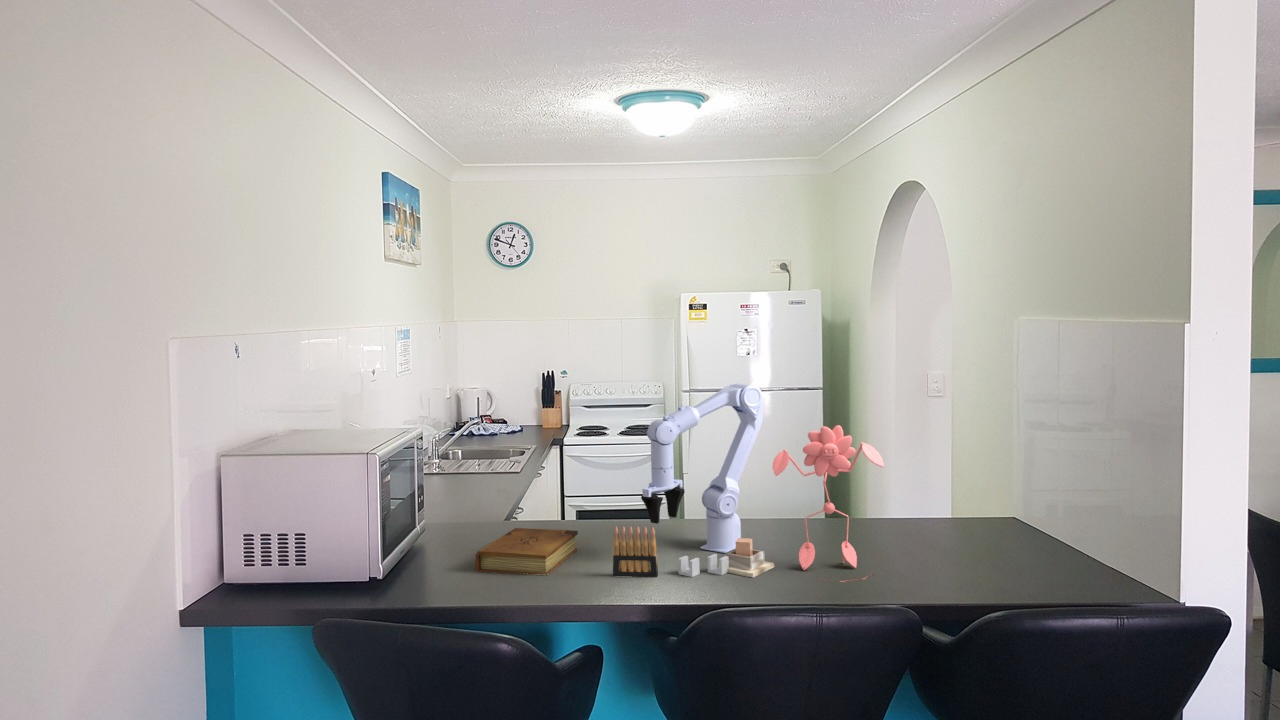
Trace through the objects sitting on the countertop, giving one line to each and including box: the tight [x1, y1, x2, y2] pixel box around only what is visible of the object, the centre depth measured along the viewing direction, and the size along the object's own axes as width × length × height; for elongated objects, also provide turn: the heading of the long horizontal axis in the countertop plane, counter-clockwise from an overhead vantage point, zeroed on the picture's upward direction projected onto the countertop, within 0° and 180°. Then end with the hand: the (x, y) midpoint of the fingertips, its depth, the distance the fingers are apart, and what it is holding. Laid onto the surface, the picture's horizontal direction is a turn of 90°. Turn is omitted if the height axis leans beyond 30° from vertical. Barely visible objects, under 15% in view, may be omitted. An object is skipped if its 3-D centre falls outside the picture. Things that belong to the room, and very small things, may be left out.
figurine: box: [772, 425, 885, 583], centre depth 202 cm, size 15×26×35 cm, turn 90°
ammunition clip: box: [612, 525, 659, 578], centre depth 204 cm, size 11×2×12 cm, turn 82°
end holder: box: [717, 549, 775, 578], centre depth 207 cm, size 10×10×4 cm
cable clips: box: [677, 553, 729, 578], centre depth 205 cm, size 8×9×4 cm
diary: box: [474, 527, 579, 576], centre depth 219 cm, size 23×19×6 cm
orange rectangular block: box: [735, 537, 754, 557], centre depth 207 cm, size 4×4×6 cm
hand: (663, 519), depth 219 cm, fingers open, 7 cm apart
